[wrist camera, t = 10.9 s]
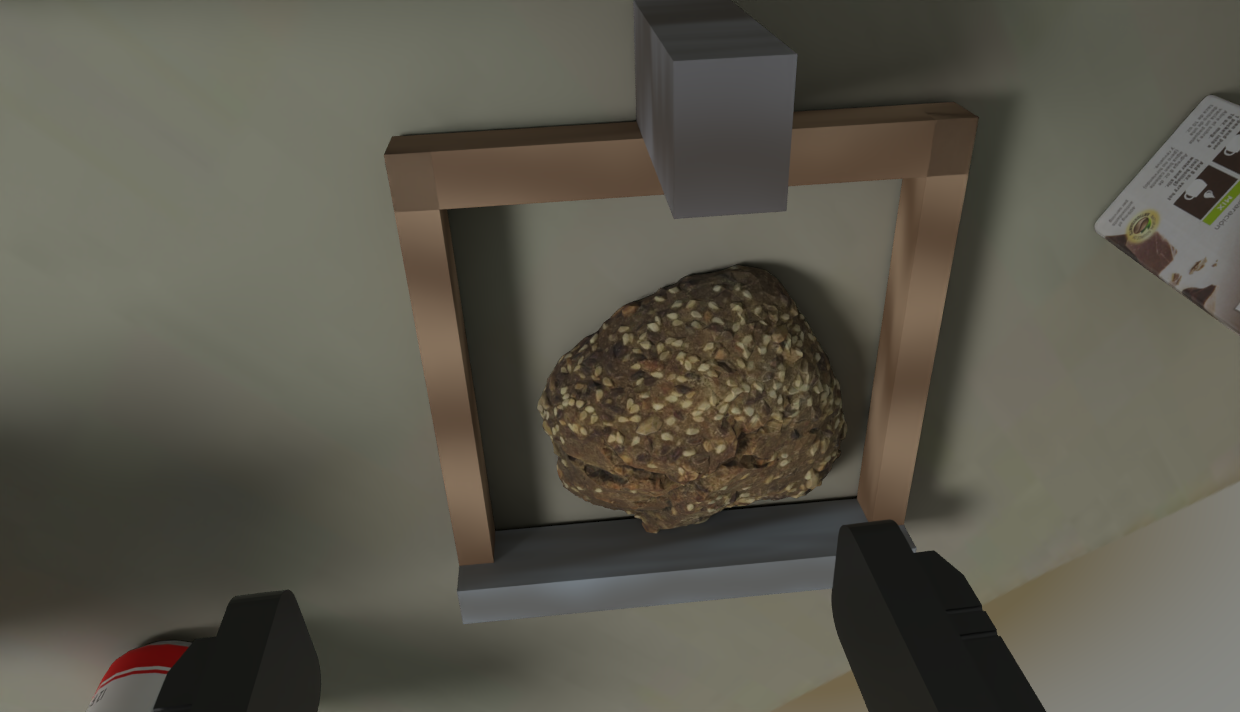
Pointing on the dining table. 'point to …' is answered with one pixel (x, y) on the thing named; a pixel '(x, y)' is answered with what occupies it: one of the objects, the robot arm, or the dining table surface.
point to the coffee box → (1188, 211)
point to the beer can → (137, 678)
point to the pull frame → (694, 187)
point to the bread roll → (696, 402)
